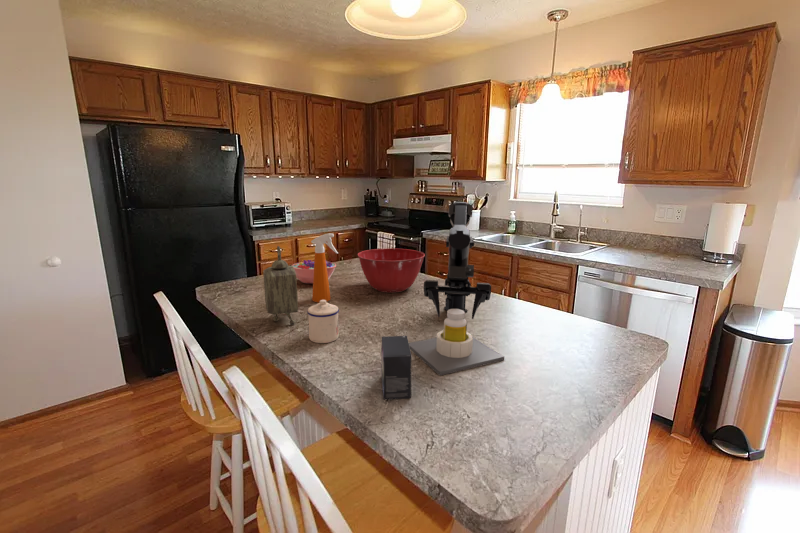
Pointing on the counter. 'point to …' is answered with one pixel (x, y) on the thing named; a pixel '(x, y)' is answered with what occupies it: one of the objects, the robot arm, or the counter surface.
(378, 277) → the mixing bowl
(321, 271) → the spray bottle
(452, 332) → the pill bottle
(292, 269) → the tabletop clock
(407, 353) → the small box
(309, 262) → the cell model
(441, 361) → the socket board
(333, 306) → the teacup with lid
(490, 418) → the counter surface
